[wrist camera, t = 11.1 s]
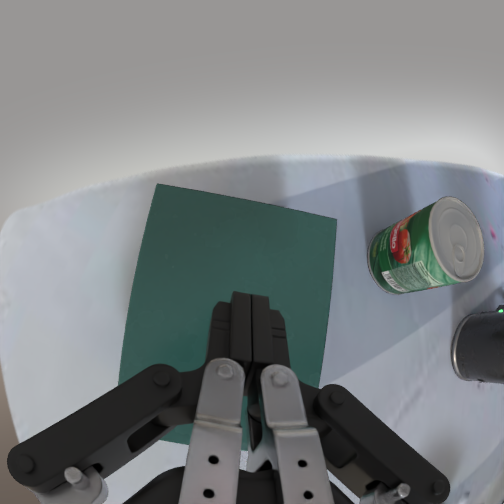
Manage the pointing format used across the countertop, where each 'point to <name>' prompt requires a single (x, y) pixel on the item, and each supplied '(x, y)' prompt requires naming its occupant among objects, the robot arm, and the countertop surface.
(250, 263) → the case lid
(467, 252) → the canned tomato
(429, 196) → the countertop surface
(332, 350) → the countertop surface
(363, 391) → the countertop surface
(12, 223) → the countertop surface
